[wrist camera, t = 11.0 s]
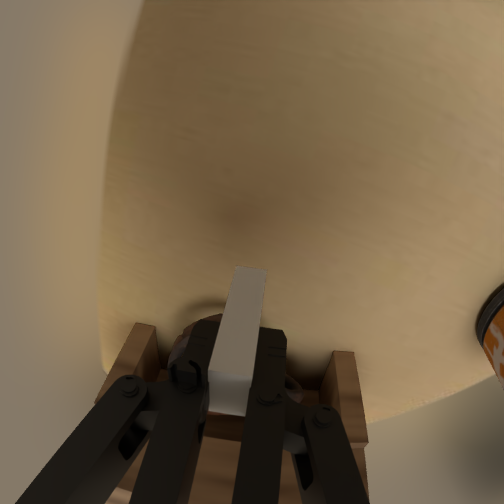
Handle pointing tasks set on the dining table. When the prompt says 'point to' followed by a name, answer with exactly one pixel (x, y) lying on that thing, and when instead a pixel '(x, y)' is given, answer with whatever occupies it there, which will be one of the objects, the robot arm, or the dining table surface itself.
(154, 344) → the hutch
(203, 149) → the dining table surface
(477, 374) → the dining table surface
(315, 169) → the dining table surface
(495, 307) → the canister
